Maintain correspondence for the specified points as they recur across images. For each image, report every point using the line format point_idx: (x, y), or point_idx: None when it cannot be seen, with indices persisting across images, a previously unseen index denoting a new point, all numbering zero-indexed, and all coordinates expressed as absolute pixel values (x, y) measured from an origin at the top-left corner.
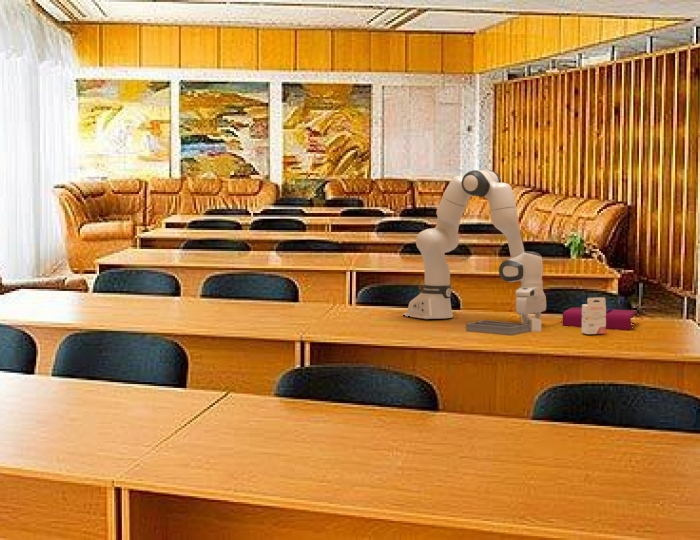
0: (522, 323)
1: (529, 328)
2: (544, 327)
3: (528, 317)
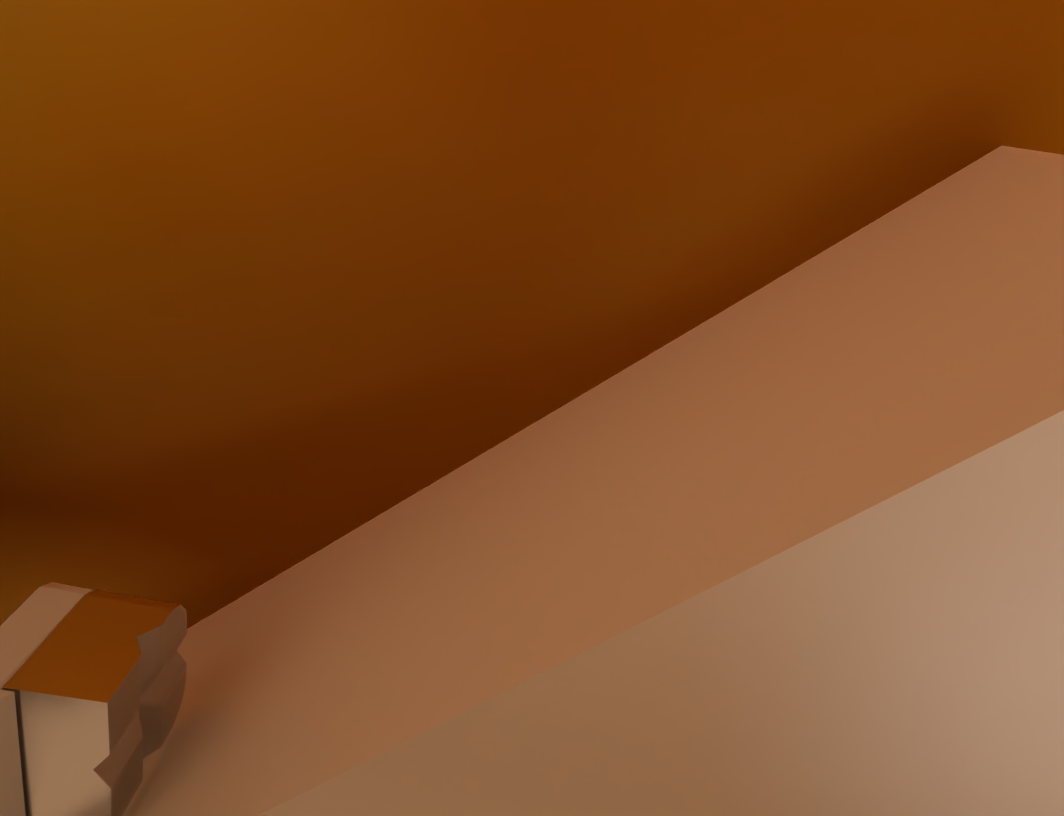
0: (886, 275)
1: None
2: None
3: (496, 803)
